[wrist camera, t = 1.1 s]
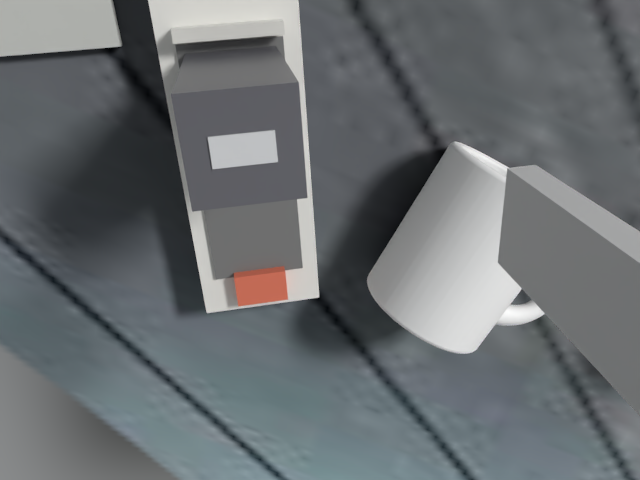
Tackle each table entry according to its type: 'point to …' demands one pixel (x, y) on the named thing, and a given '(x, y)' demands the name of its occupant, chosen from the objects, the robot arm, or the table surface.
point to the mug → (451, 257)
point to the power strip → (249, 220)
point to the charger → (239, 128)
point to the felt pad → (57, 26)
